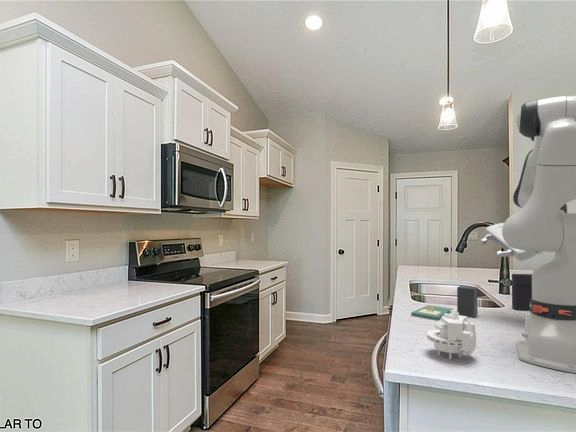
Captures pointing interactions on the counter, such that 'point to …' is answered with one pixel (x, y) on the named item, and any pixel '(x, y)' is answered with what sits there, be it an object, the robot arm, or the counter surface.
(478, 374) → the counter surface
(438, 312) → the header board
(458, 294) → the plug housing
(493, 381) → the counter surface
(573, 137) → the robot arm
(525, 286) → the calculator
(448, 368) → the counter surface
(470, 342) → the mechanical part
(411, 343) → the counter surface
